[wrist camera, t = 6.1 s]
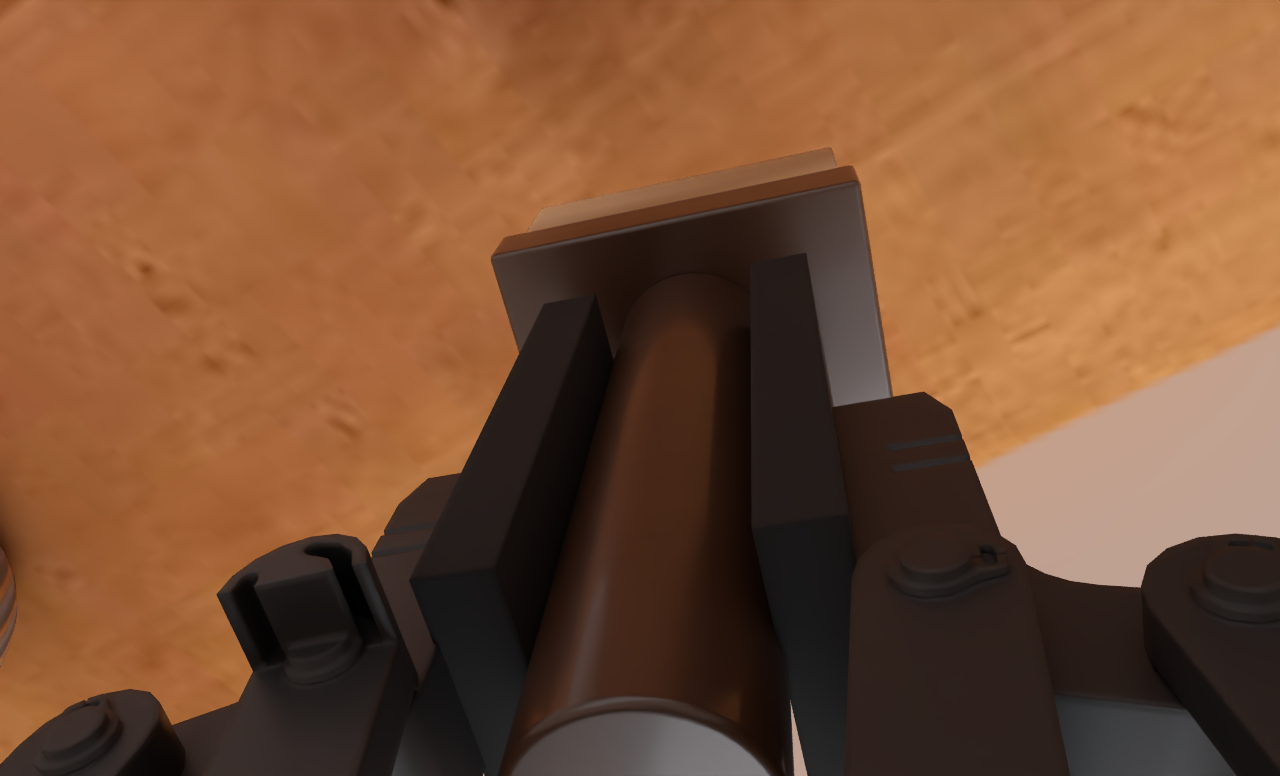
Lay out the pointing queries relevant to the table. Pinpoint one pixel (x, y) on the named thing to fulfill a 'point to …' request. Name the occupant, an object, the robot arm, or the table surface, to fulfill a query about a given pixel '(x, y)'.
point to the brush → (679, 466)
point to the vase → (6, 605)
